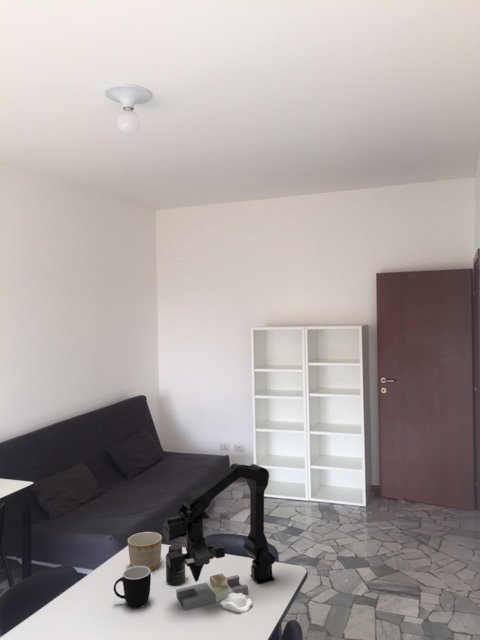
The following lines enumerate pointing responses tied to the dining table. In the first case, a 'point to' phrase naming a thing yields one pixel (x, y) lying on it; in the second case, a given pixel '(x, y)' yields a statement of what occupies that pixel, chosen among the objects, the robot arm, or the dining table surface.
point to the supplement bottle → (175, 569)
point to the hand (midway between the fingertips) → (196, 581)
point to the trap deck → (208, 593)
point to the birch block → (218, 582)
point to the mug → (135, 586)
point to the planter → (145, 549)
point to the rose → (236, 603)
